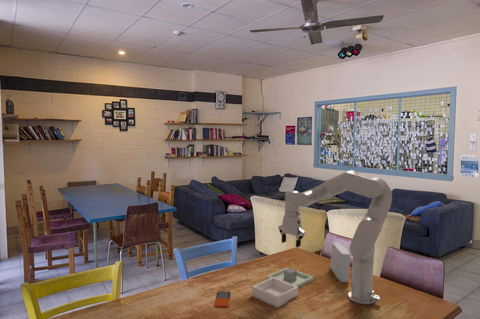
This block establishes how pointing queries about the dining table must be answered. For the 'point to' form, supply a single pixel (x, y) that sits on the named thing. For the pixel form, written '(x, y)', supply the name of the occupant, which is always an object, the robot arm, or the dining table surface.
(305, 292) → the dining table surface
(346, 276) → the skincare box
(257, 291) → the white bin
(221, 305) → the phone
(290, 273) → the slate stone block
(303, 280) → the green tray
